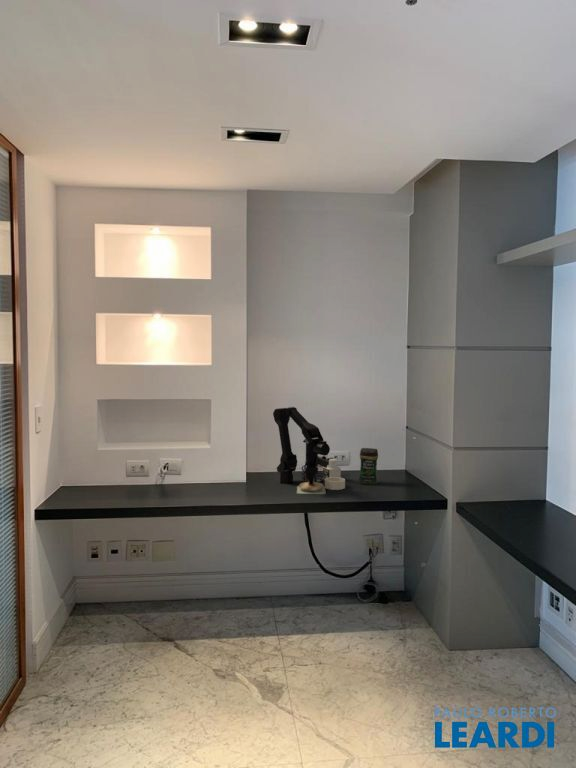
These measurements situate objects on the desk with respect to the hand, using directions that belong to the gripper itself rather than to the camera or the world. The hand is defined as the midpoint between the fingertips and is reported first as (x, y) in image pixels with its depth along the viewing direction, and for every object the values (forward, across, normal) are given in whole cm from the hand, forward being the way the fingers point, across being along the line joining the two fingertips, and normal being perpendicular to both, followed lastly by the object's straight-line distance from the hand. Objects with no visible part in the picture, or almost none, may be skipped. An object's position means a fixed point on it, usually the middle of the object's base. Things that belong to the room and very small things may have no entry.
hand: (311, 483), depth 287 cm
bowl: (+4, +6, -12) cm, 14 cm away
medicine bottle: (+4, +22, -11) cm, 25 cm away
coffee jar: (+4, +17, -30) cm, 35 cm away
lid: (+2, 0, 0) cm, 2 cm away
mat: (+4, 0, 0) cm, 4 cm away
